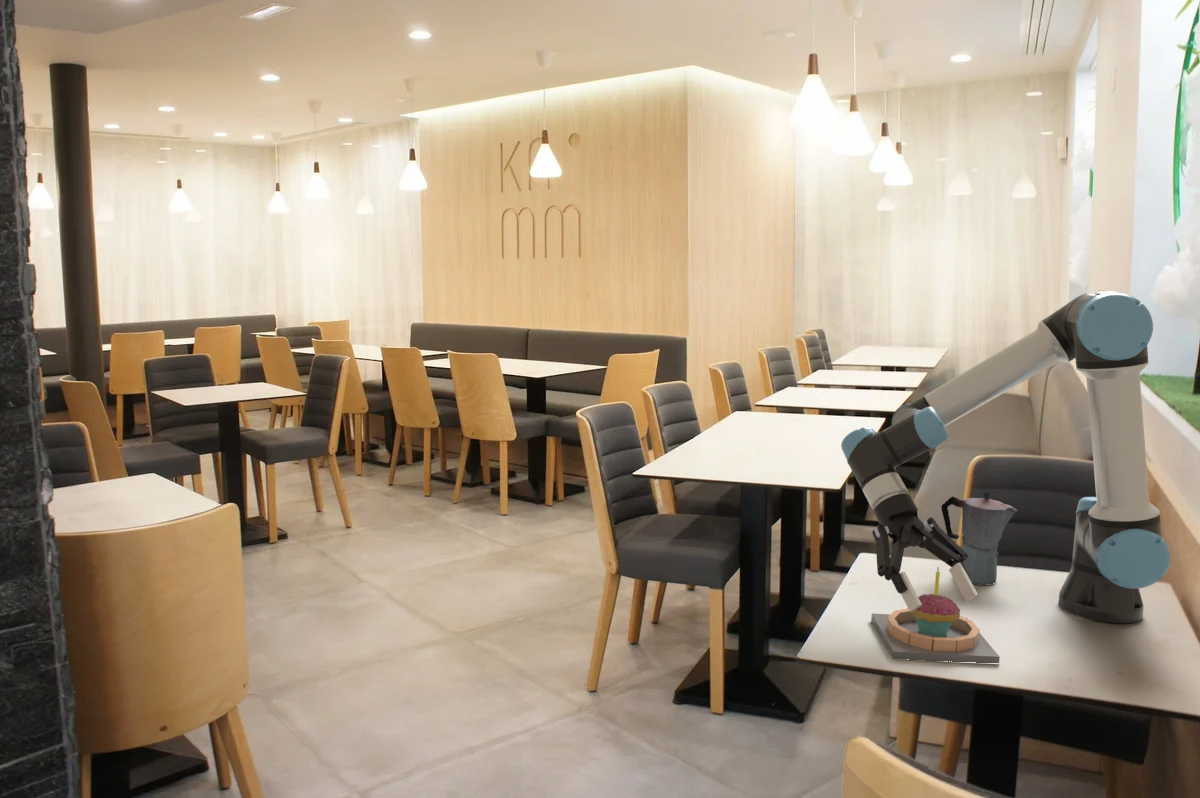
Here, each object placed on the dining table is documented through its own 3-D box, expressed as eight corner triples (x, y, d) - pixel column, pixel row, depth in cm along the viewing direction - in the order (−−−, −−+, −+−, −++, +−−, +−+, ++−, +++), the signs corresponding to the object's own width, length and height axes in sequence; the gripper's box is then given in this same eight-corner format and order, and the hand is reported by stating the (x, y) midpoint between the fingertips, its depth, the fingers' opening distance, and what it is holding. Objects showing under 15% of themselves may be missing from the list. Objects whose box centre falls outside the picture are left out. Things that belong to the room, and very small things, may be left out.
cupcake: (909, 621, 178) (913, 560, 177) (957, 628, 176) (962, 566, 174) (908, 638, 170) (913, 574, 169) (959, 645, 168) (964, 580, 166)
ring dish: (966, 625, 181) (967, 608, 181) (998, 664, 164) (1000, 645, 163) (871, 620, 183) (872, 603, 182) (893, 659, 165) (894, 640, 164)
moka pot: (1015, 589, 202) (1023, 498, 199) (939, 583, 205) (946, 493, 202) (1005, 575, 211) (1013, 488, 209) (933, 569, 214) (940, 483, 212)
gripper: (928, 505, 189) (981, 602, 178) (829, 518, 178) (879, 622, 167) (950, 485, 184) (1007, 584, 173) (849, 497, 173) (903, 603, 162)
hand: (944, 603), depth 170 cm, fingers open, 13 cm apart
